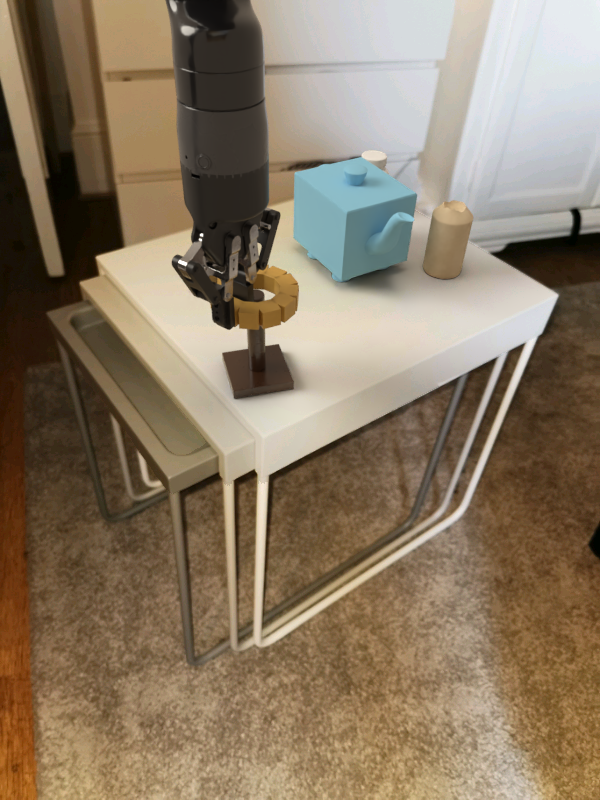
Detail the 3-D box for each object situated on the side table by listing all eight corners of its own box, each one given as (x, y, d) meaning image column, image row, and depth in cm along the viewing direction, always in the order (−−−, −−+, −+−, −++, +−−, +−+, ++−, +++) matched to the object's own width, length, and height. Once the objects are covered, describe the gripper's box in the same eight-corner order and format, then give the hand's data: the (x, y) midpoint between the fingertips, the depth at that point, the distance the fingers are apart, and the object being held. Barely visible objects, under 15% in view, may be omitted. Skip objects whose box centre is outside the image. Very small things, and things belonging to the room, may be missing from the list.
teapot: (284, 239, 97) (284, 150, 88) (344, 223, 102) (351, 135, 92) (365, 315, 84) (377, 219, 74) (432, 292, 88) (451, 198, 78)
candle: (449, 283, 90) (464, 218, 83) (415, 270, 92) (426, 205, 85) (467, 267, 93) (482, 203, 86) (434, 254, 95) (446, 191, 88)
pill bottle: (369, 219, 103) (374, 165, 97) (346, 207, 106) (350, 154, 99) (391, 209, 105) (398, 156, 99) (367, 197, 108) (373, 145, 102)
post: (233, 399, 72) (228, 318, 64) (222, 360, 77) (216, 280, 69) (293, 388, 73) (295, 308, 65) (278, 351, 78) (279, 272, 70)
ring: (229, 338, 63) (228, 322, 62) (199, 290, 69) (197, 274, 68) (312, 316, 66) (313, 300, 65) (276, 272, 72) (276, 256, 71)
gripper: (240, 118, 59) (246, 277, 71) (132, 168, 51) (159, 339, 63) (307, 137, 56) (302, 300, 68) (203, 194, 48) (218, 368, 60)
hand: (233, 318), depth 66 cm, fingers closed on ring, 2 cm apart
